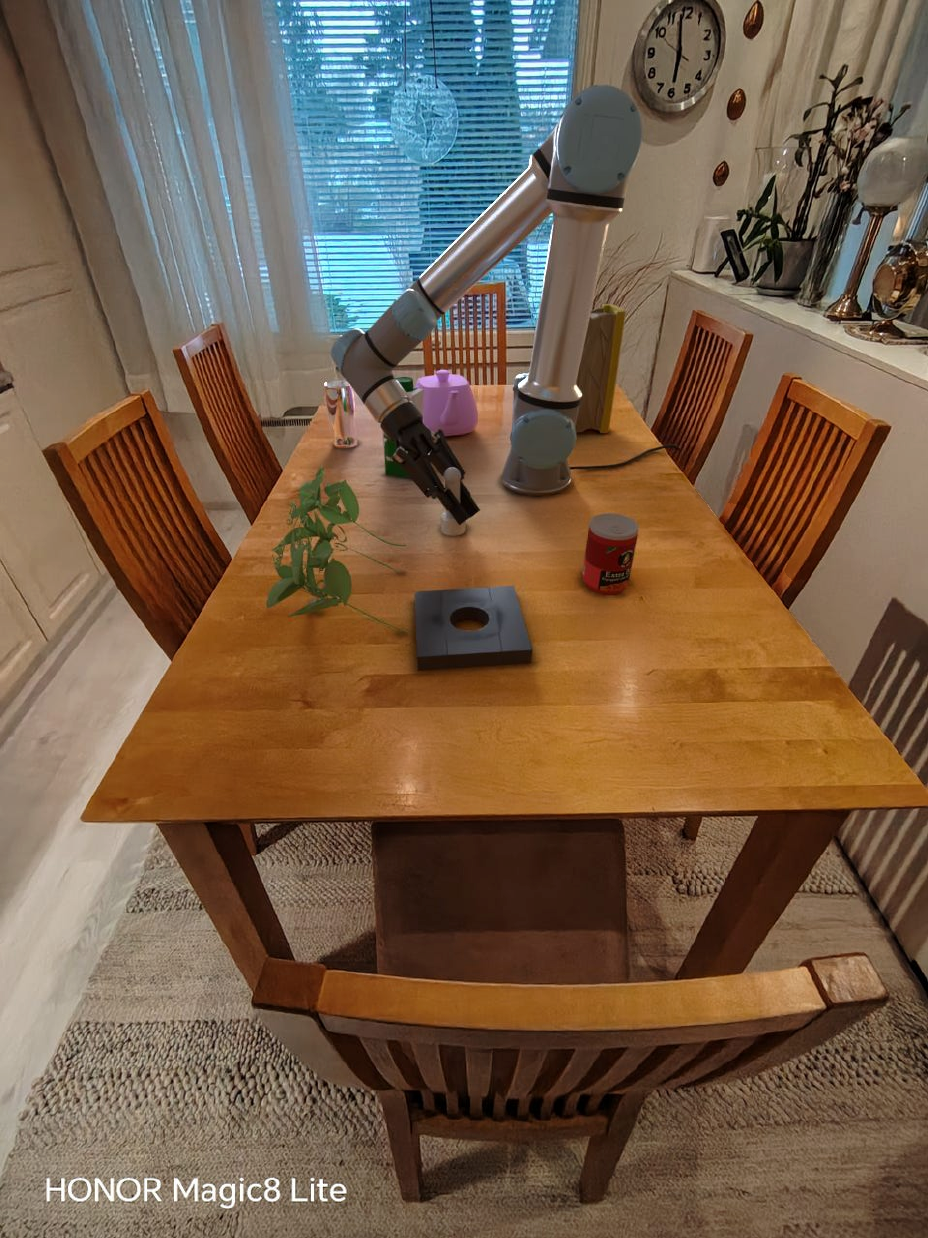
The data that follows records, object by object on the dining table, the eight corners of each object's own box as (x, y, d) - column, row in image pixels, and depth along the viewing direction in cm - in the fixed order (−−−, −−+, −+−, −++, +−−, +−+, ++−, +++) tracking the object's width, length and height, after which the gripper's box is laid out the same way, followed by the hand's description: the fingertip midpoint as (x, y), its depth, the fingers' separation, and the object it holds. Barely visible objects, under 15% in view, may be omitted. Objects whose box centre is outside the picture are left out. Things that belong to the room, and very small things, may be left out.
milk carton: (430, 466, 139) (426, 378, 127) (413, 481, 132) (408, 389, 120) (397, 461, 141) (390, 374, 129) (379, 476, 135) (370, 385, 123)
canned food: (601, 600, 95) (611, 540, 88) (572, 576, 101) (579, 518, 94) (638, 588, 98) (650, 529, 91) (607, 565, 103) (617, 508, 97)
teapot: (394, 423, 163) (389, 366, 154) (468, 417, 166) (468, 360, 157) (407, 454, 145) (402, 391, 136) (489, 446, 149) (490, 384, 140)
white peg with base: (464, 523, 116) (464, 462, 109) (466, 535, 112) (466, 472, 105) (440, 524, 116) (438, 463, 108) (441, 536, 112) (439, 473, 105)
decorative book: (598, 420, 163) (613, 298, 145) (611, 434, 155) (630, 306, 136) (527, 424, 161) (534, 301, 143) (537, 439, 152) (545, 310, 134)
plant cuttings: (376, 579, 113) (267, 521, 103) (427, 512, 105) (314, 443, 96) (371, 712, 85) (221, 649, 76) (439, 633, 78) (282, 553, 68)
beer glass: (354, 450, 147) (346, 388, 138) (328, 448, 149) (318, 386, 139) (363, 440, 153) (356, 380, 144) (338, 438, 154) (329, 378, 145)
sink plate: (513, 598, 96) (514, 585, 94) (531, 663, 83) (532, 649, 81) (415, 603, 95) (414, 591, 93) (418, 670, 82) (417, 657, 80)
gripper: (411, 412, 116) (481, 510, 118) (356, 436, 105) (433, 543, 108) (432, 389, 110) (504, 492, 113) (375, 412, 100) (456, 525, 102)
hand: (469, 517), depth 110 cm, fingers closed on white peg with base, 3 cm apart
